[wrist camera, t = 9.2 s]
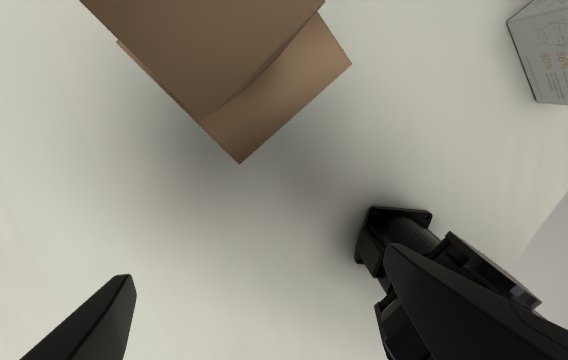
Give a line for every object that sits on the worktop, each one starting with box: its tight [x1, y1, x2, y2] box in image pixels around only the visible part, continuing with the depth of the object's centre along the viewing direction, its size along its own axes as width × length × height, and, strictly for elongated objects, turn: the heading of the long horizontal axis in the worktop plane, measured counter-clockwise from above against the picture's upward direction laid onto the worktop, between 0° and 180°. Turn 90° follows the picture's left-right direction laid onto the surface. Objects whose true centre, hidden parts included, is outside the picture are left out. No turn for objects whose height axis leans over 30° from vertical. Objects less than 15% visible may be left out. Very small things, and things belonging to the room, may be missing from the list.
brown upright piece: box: [79, 0, 352, 164], centre depth 9 cm, size 9×9×12 cm
